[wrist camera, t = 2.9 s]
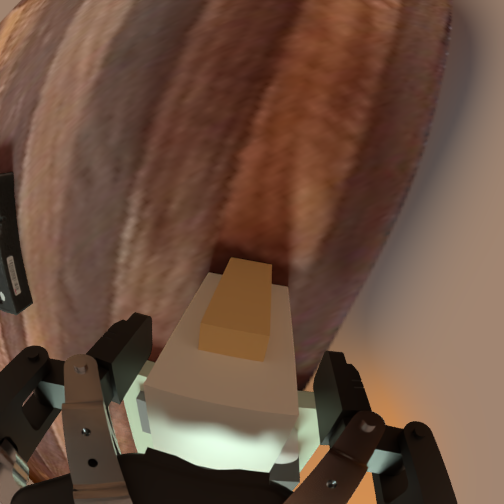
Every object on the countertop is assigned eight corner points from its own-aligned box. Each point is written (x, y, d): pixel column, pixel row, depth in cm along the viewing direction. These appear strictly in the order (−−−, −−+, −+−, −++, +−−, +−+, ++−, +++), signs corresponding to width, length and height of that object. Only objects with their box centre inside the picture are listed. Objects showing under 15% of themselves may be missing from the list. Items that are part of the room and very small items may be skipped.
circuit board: (126, 353, 16) (99, 392, 12) (337, 393, 16) (347, 440, 12) (148, 460, 21) (137, 488, 17) (280, 485, 20) (279, 515, 17)
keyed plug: (210, 253, 13) (140, 356, 6) (292, 268, 13) (310, 390, 6) (201, 336, 15) (155, 453, 7) (272, 349, 15) (266, 476, 7)
